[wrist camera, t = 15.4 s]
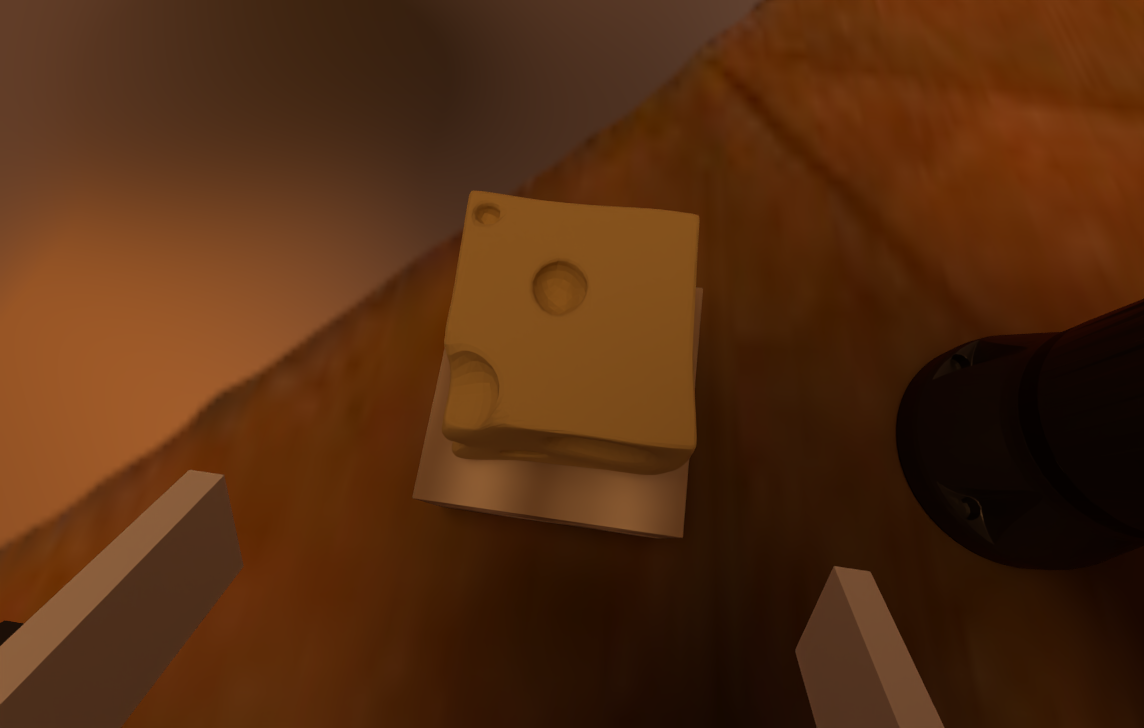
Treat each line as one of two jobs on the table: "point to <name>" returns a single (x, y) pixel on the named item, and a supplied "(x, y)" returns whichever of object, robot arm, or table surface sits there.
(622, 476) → the chevron patterned block
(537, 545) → the table surface
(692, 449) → the cheese
